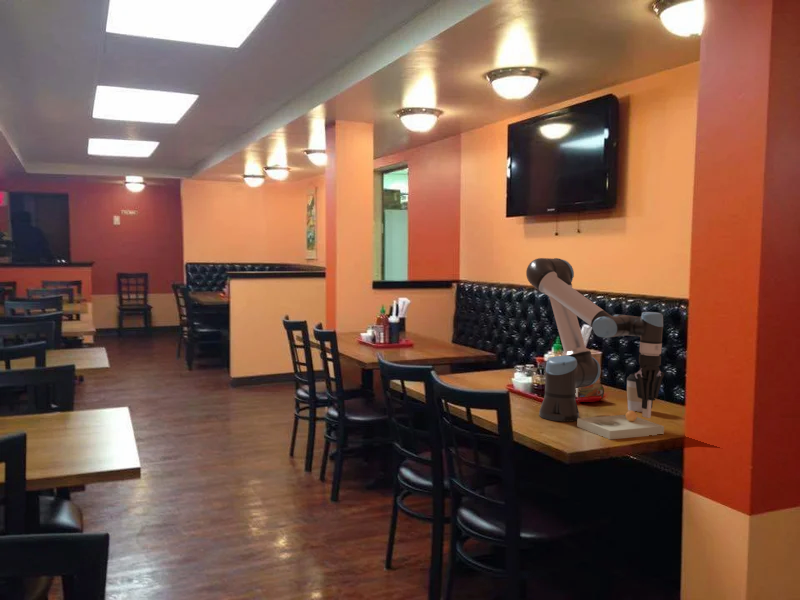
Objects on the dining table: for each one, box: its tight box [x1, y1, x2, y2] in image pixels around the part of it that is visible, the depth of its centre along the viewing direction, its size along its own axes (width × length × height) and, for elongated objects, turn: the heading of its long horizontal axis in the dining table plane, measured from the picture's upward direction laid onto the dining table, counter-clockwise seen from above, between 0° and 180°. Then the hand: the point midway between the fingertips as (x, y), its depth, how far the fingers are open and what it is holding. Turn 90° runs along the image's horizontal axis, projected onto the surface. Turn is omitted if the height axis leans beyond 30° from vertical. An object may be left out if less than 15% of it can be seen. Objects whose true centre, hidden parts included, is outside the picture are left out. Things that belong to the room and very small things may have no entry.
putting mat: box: [576, 414, 665, 440], centre depth 238 cm, size 18×24×3 cm
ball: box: [625, 410, 638, 422], centre depth 240 cm, size 4×4×4 cm
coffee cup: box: [626, 373, 643, 413], centre depth 272 cm, size 9×9×15 cm
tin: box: [578, 382, 605, 399], centre depth 285 cm, size 15×3×8 cm, turn 119°
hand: (646, 417), depth 243 cm, fingers closed
